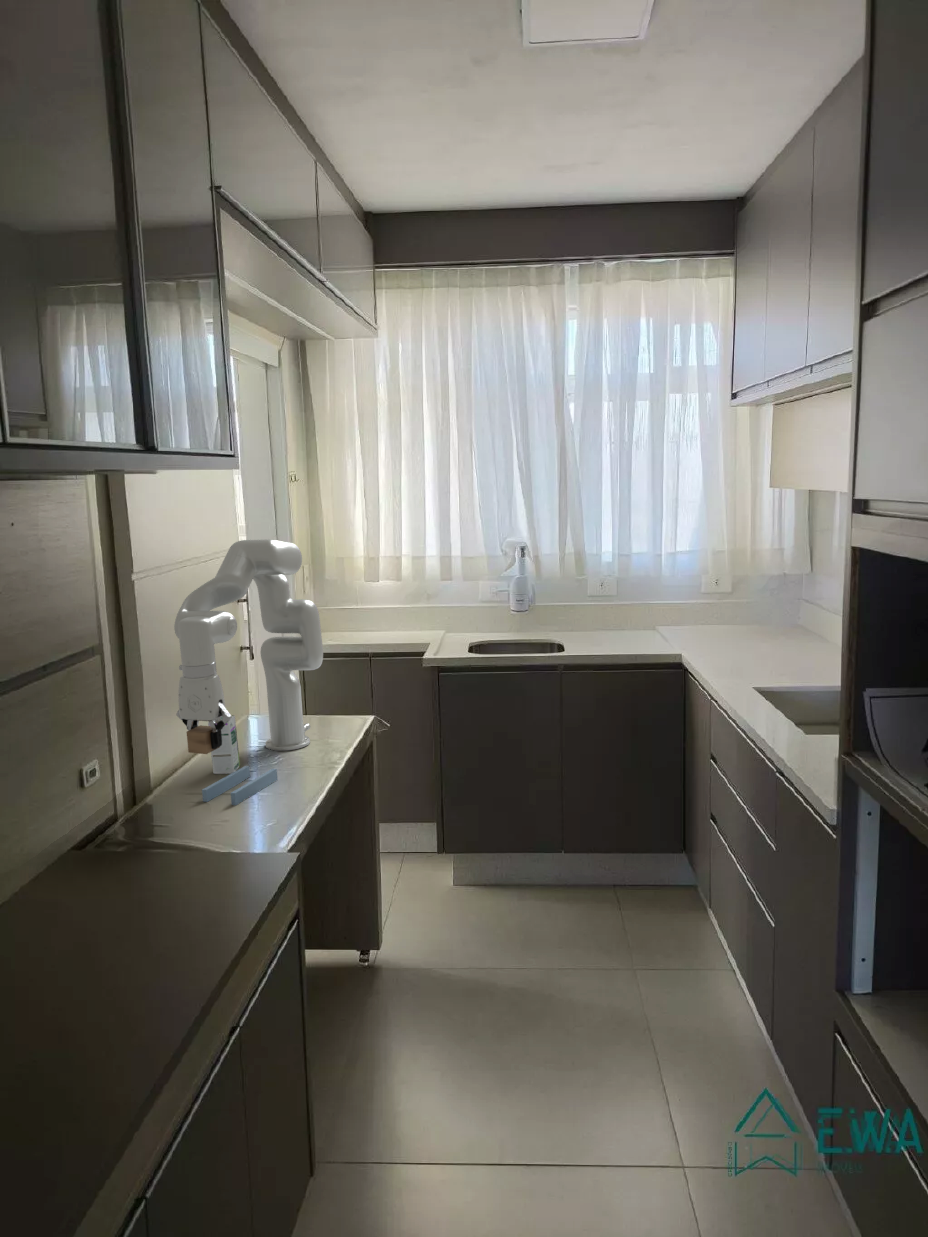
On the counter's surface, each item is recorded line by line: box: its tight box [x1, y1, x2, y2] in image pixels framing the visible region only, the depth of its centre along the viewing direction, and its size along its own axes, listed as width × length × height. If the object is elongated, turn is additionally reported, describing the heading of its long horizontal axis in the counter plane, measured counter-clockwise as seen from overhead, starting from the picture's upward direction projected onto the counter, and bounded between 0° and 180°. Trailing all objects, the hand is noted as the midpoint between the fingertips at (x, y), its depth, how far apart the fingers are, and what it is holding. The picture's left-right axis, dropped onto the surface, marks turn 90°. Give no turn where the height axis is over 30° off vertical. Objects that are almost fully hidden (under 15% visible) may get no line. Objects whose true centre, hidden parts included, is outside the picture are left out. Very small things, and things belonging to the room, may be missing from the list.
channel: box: [201, 765, 278, 806], centre depth 222 cm, size 18×9×3 cm, turn 159°
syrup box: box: [207, 714, 241, 775], centre depth 237 cm, size 6×6×14 cm
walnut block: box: [186, 725, 220, 755], centre depth 208 cm, size 5×5×5 cm
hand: (206, 745), depth 209 cm, fingers closed on walnut block, 5 cm apart
